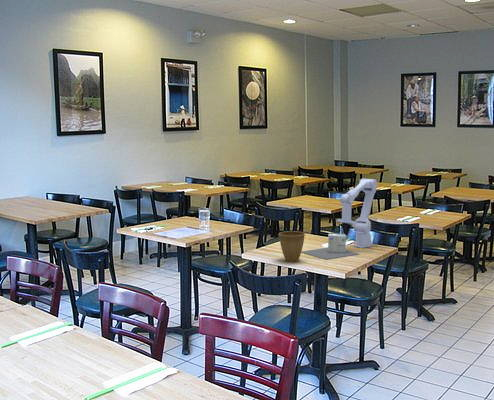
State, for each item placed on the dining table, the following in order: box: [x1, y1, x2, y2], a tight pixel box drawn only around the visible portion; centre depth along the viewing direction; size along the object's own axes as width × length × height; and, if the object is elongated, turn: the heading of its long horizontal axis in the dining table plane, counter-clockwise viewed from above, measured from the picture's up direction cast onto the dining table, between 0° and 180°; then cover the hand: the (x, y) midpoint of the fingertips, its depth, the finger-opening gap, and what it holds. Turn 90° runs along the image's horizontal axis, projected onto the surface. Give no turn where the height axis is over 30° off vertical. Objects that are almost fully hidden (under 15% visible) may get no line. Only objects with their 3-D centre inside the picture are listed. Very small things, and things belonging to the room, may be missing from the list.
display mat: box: [301, 247, 360, 261], centre depth 352 cm, size 26×24×1 cm
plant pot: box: [278, 230, 306, 263], centre depth 332 cm, size 15×15×16 cm
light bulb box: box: [327, 233, 347, 253], centre depth 354 cm, size 11×7×11 cm, turn 84°
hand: (346, 235), depth 358 cm, fingers closed
